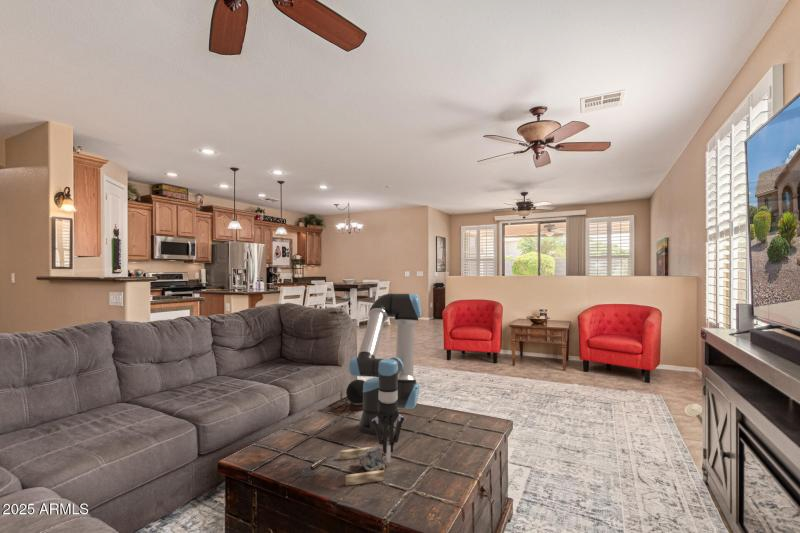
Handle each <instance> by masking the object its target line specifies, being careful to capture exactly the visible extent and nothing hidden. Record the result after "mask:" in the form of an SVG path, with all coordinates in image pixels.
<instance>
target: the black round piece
mask: <svg viewBox="0 0 800 533" xmlns="http://www.w3.org/2000/svg"><path fill="white" fill-rule="evenodd" d="M365 381H366V380H363V379H355V380H352V381H351V382H350V383H349V384H348V385H347V387H346V389H345V391H346V392H345V394H346V399H347V400H348V401H349V404H348V406H347V409H348V410H349V411H352V412H363V384H364V382H365Z"/></svg>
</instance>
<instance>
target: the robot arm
mask: <svg viewBox="0 0 800 533" xmlns="http://www.w3.org/2000/svg"><path fill="white" fill-rule="evenodd" d="M420 299H421V298H420V296H419V294H416V293H386V294H383V295H381V296H380V297H378V298H377V299H376V300H375V301H374V302H373V303H372V305H371V307H370V308H369V311H368V322H367V323H366V324H367V325H366V328H365V331H364V335H363V338H362V342H361V345H360V348H359V351H358V353H357V356H354V357H352V358H351V359H350V360H349V364H348V371H349V374H350V375H351V376H355V377H370V378H369V379H366V380H364V381H365V382H364V384H363V411H362V413H361V415H360V416H361V417H360V420H359V426H358V428H359V430H360V431H361V432H362V433H365V434H368V435H376V438H377V441H378V443H379V445H382V452H383V454H385V457H384V460H385V462H386V463H391V459H392V458H391V456H392V455H391V454H392V453H393V452H394V444H395V443H396V444H397V443H398V442H399V437H400V433H401V428H402V424H403V423H404V421H405V417H404V416H403V415H401V414H399V411H398V409H405V410H407V409H409V410H410V409H411V410H413V409H414V408H415V407H416V406H417V403H418V399H419V393H420V384H419V383H418V382H417V378H416V377H415V376H414V366H415V365H414V362H415V332H416V331H415V329H416V324H417V323H419V319H420V318H422V314H423V313H422V304H421V300H420ZM390 317H391V318H394V322H395V323H396V324H397V325H396V326H397V328H396V329H397V330H396V353H395V356H392V357H390V358H376V355H377V353H378V352H377V351H378V347H379V344H380V341H381V337H382V333H383V329H384V325H385V322H386V321H387V320H388V318H390ZM396 421H397V422H396ZM395 423H396V426H395V425H394V424H395ZM394 426H395V427H394ZM394 428H395V430H394ZM381 434H382V436H381Z"/></svg>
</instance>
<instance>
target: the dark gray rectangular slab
mask: <svg viewBox="0 0 800 533" xmlns="http://www.w3.org/2000/svg"><path fill="white" fill-rule="evenodd" d="M310 477H311V478H312V477H315V470H314V469H313V470H311V469H310V470H303V471H300V479H303V478H310Z"/></svg>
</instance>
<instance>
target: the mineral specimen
mask: <svg viewBox="0 0 800 533" xmlns="http://www.w3.org/2000/svg"><path fill="white" fill-rule="evenodd" d="M374 447H375V446H374ZM382 452H383V448H382V447H381V446H376V447H375V448H368V449H367V450H366V451H364V452H362V453H360V454H358V458H357V459H358V460H359V464H360V465H361V466H362V467H363V468H364V469H365V470H366V472H371V471H379V470H384V471H385V469H386V463H385V462H386V461H385V462H384V460H383V457H384V455H383V453H382Z"/></svg>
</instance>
